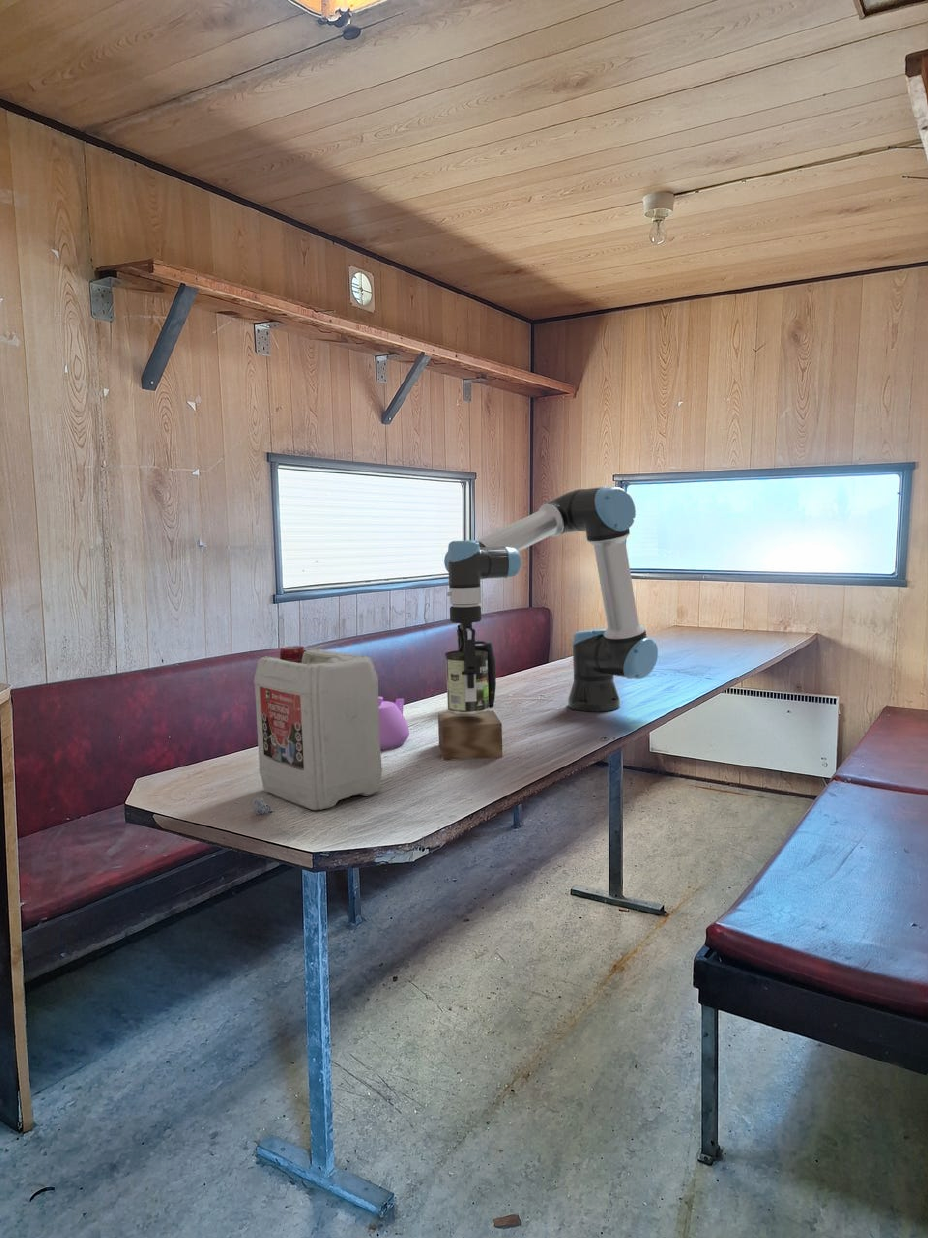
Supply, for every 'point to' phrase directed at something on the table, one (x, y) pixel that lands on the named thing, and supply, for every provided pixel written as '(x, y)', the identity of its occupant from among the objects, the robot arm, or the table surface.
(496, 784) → the table surface
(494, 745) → the walnut block
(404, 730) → the teapot
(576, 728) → the table surface
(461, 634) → the robot arm
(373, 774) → the jerry can
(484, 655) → the coffee can
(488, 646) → the portable speaker
